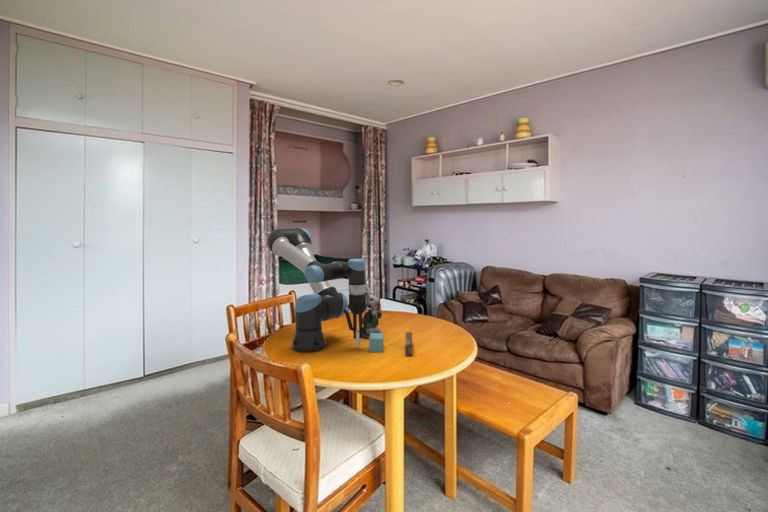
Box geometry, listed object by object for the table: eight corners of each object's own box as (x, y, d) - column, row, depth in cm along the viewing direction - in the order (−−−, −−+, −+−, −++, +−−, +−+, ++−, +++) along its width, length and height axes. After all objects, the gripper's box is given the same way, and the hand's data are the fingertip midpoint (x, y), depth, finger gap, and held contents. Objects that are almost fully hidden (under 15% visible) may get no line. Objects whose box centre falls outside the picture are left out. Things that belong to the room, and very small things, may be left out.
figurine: (379, 342, 191) (385, 292, 187) (353, 338, 193) (359, 288, 190) (384, 335, 201) (390, 288, 198) (359, 331, 204) (365, 284, 200)
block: (369, 352, 174) (369, 339, 173) (370, 345, 182) (370, 333, 182) (383, 352, 173) (382, 339, 173) (383, 345, 182) (383, 333, 182)
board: (405, 355, 168) (405, 344, 168) (405, 342, 186) (405, 332, 186) (412, 356, 168) (412, 344, 167) (412, 342, 186) (412, 332, 185)
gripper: (341, 295, 173) (342, 347, 175) (370, 295, 172) (371, 348, 174) (344, 291, 180) (345, 342, 182) (372, 291, 179) (373, 342, 181)
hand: (358, 345), depth 178 cm, fingers closed
